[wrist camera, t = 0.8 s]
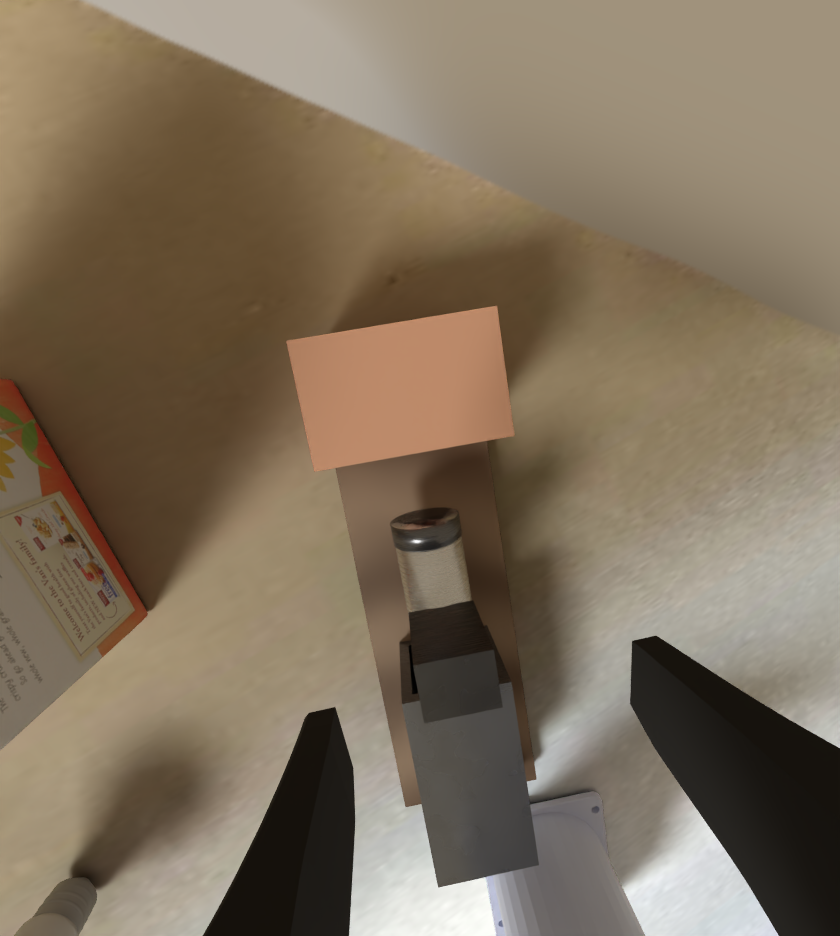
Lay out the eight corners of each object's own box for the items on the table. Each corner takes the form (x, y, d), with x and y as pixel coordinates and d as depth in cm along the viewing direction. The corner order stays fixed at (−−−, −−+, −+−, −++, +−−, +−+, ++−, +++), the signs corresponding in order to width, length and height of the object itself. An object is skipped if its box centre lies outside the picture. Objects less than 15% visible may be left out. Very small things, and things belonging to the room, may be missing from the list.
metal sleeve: (510, 777, 26) (539, 865, 21) (429, 794, 26) (438, 887, 21) (487, 625, 25) (511, 681, 20) (399, 642, 24) (401, 704, 19)
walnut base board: (531, 765, 27) (536, 779, 26) (405, 792, 27) (405, 807, 26) (466, 331, 23) (470, 328, 22) (315, 357, 23) (312, 355, 22)
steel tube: (497, 770, 25) (539, 916, 18) (440, 782, 25) (460, 933, 18) (453, 503, 22) (482, 551, 15) (389, 515, 22) (390, 568, 15)
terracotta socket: (484, 426, 23) (514, 435, 17) (332, 453, 22) (314, 471, 17) (470, 328, 22) (496, 305, 17) (312, 355, 22) (286, 340, 16)
